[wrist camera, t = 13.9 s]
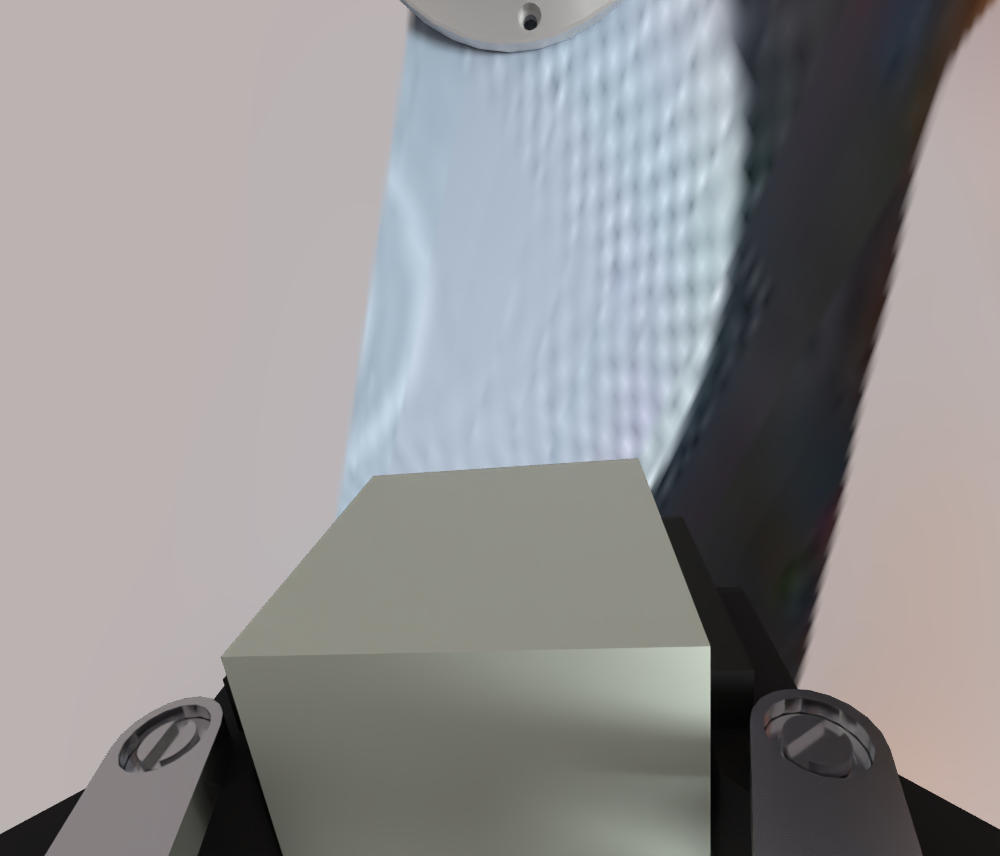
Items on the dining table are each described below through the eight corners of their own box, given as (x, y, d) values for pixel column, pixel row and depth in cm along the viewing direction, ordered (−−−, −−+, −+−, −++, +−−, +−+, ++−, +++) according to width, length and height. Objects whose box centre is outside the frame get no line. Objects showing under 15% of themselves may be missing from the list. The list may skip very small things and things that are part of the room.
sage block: (372, 475, 11) (221, 656, 6) (638, 458, 10) (710, 646, 5) (413, 686, 12) (318, 968, 7) (647, 683, 11) (710, 993, 7)
